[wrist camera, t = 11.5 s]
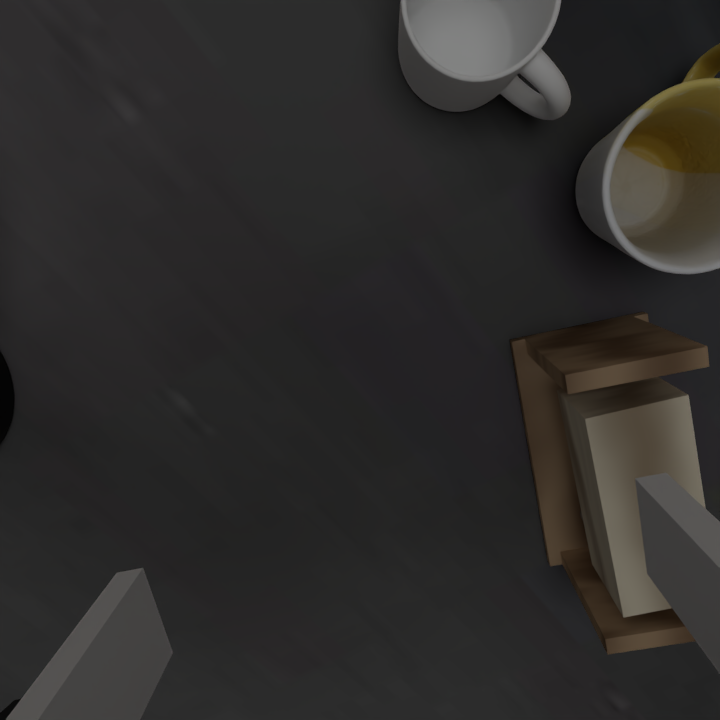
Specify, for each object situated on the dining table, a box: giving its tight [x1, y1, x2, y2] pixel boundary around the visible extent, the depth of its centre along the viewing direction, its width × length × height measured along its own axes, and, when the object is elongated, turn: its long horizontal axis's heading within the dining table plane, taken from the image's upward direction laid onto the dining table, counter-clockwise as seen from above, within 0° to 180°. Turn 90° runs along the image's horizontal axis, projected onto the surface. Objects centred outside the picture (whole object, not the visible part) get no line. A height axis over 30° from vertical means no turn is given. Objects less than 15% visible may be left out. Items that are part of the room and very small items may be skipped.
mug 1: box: [398, 0, 571, 120], centre depth 35 cm, size 12×8×10 cm
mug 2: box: [575, 44, 720, 274], centre depth 36 cm, size 14×10×10 cm
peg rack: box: [510, 312, 709, 654], centre depth 41 cm, size 10×19×11 cm, turn 13°
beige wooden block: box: [557, 377, 705, 618], centre depth 39 cm, size 6×14×6 cm, turn 15°
